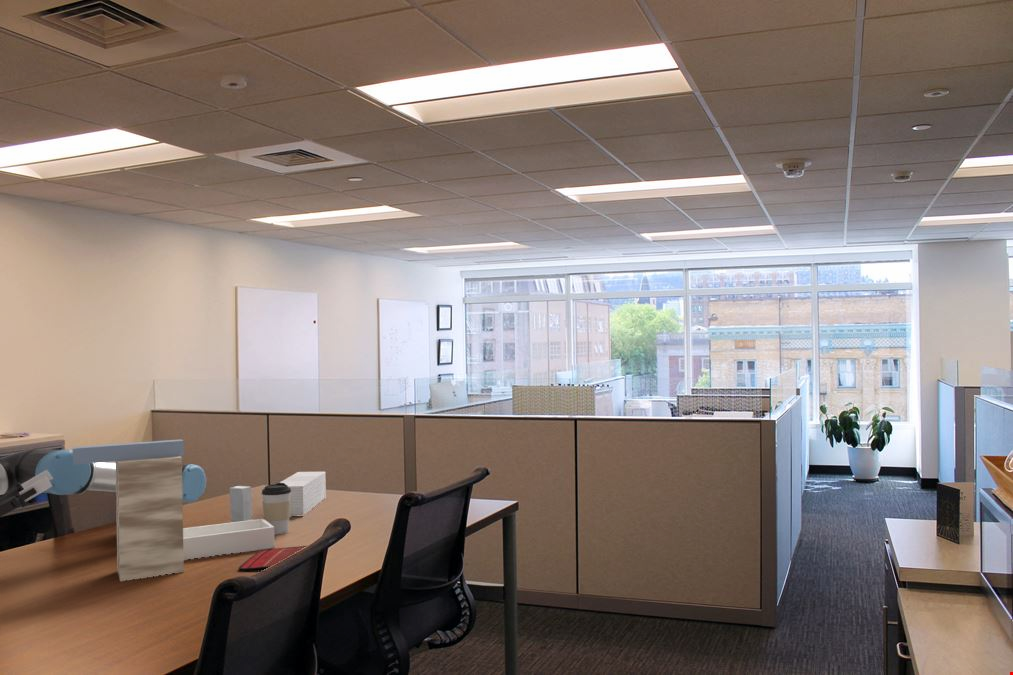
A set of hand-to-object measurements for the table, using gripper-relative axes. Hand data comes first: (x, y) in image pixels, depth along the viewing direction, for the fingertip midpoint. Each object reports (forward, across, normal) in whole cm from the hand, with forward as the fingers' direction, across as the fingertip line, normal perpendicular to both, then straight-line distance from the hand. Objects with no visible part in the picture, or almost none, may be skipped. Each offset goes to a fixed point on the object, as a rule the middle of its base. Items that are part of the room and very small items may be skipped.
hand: (49, 477), depth 200 cm
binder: (+33, +8, -51) cm, 62 cm away
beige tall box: (+6, 0, -35) cm, 35 cm away
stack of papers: (+55, -62, -63) cm, 104 cm away
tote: (+22, -14, -43) cm, 50 cm away
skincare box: (+34, -47, -51) cm, 77 cm away
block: (+17, 0, -6) cm, 18 cm away
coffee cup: (+40, -27, -54) cm, 73 cm away
